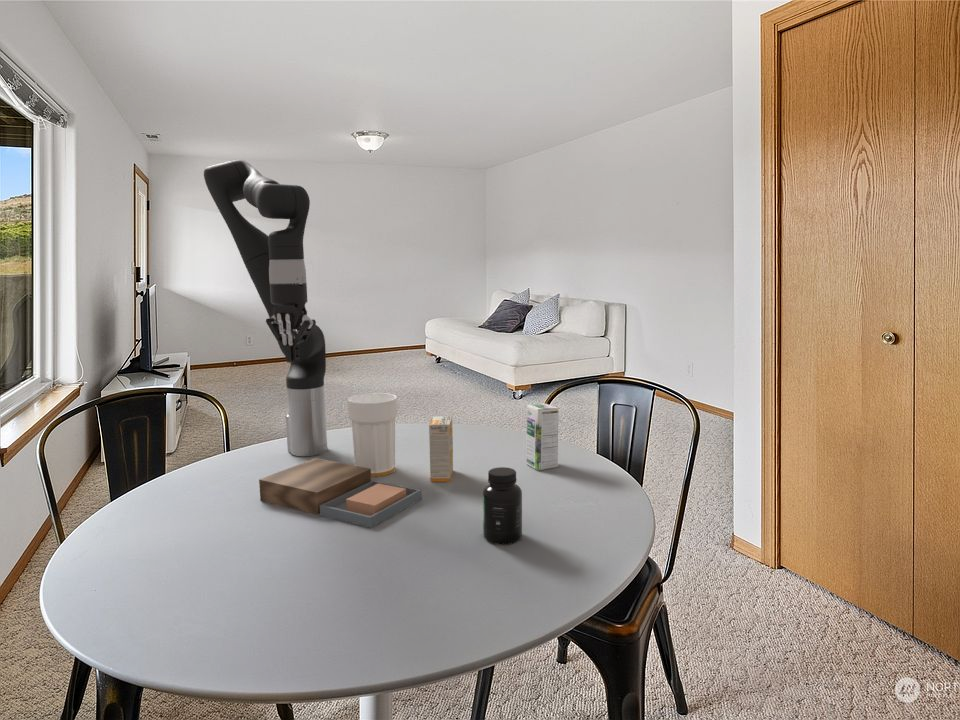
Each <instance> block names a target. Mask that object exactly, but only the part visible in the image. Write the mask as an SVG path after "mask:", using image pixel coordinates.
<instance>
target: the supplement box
mask: <svg viewBox="0 0 960 720" xmlns="http://www.w3.org/2000/svg"><path fill="white" fill-rule="evenodd" d="M428 434H429V467H430V468H429V469H430V470H429V471H430V472H429V473H430V475H429V476H430V482H431V483H433V482H434V483H439V482H440V483H447V482H448V483H449V482H451V481H452V476H453V475H452V474H453V471H454V450H453V449H454V440H453V439H454V436H453V416H450V415H449V416H447V415H443V416H442V415H441V416H440V415H439V416H438V415H437V416H432V418H431V420H430V422H429V424H428Z"/></svg>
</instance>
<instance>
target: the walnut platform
mask: <svg viewBox="0 0 960 720" xmlns="http://www.w3.org/2000/svg"><path fill="white" fill-rule="evenodd" d="M370 481H372V477H371V469H370V468H364V467H359V466H355V464H354V465H353V464H348V463H342V462H338V461H331V460H327V459H321V458H318V457H315V458H312V459H309V460H307V461H304V462H302V463H301V462H300V464H296V465H294V466H291V467H288V468H285V469H283V470H280V471H278V472H275V473H273V474H270V475H267V476H264V477H262V478H259V479H258V484H259V494H260V495H259V496H260V497H259V498H260V499H259V500H260V502H265V503H269V504H273V505H277V506H280V507H281V506H282V507H286V508H289V509H294V510H297V511H300V512H301V511H302V512H307V513H309V514H313V515H317V516H319V515H320V505H322V504H324V503H326V502H328V501H330V500H332V499H334V498H337V497H339V496H341V495H343V494H345V493H347V492H349V491H351V490H354V489H356V488H358V487H360V486H362V485H364V484H366V483H368V482H370Z"/></svg>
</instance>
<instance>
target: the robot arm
mask: <svg viewBox="0 0 960 720" xmlns="http://www.w3.org/2000/svg"><path fill="white" fill-rule="evenodd" d="M203 178H204V182H205V184H206V188H207V189H208V193H209V194H210V196H211V198H212V200H213V202H214V203H215V205H216V207H217V209H218V211H219V212H220V215H221V217H222V218H223V220H224V223H225V224H226V226H227V228H228V230H229V232H230V234H231V237H232V238H233V241H234V243H235V245H236V247H237V249H238V252H239V255H240V257H241V259H242V261H243V264H244V266H245V268H246V271H247V273H248V275H249V277H250V279H251V281H252V283H253V285H254V287H255V289H256V291H257V294H258V296H259V298H260V300H261V302H262V305H263V306H264V309H265V310H266V312H267V315H268V318H266V320H265V323H266V325H267V326H268V328H269V329H270V331H271V333H272V334H273V336H274V338H275V340H276V341H277V344H278V346H279V349H280V351H281V352H282V354H283V355H284V356H285V361H286V363H288V364H289V365H290V366H289V370H288V373H287V375H286V378H285V383H286V384H285V385H286V395H287V397H286V399H287V415H286V416H285V429H286V445H287V452H288V453H290V454H291V455H293V456H297V457H310V456H318V455H321V454H324V453H325V452H327V451H328V433H327V417H326V416H327V415H326V395H325V374H326V369H327V368H326V367H327V365H326V364H327V362H326V360H327V357H326V352H327V351H326V340H325V334H324V333H323V330H322V329H321V327H319V325H317V324H316V323H317V322H316V319H313V318H312V319H311V318H310V317H309V316H308V310H307V309H306V304H307V303H308V286H307V270H306V263H305V255H304V236H305V229H306V224H307V220H308V216H309V212H310V204H311V203H310V202H311V201H310V196H309V194H308V192H307V190H306V189H305V188H304V187H302V186H301V185H297V184H282V183H281V184H280V183H279V182H278V181H276V180H274V179H272V178H269V177H266V176H263V174H261V173H260V171H258V170H257V169H256V168H255V167H254V166H253V165H251V164H250V163H249V162H247V161H245V160H243V159H232V160H229V161H225V162H221V163H217V164H213V165H209V166H207V167H205V168H204V170H203ZM241 200H246V202H247V203H249V204H250V206H252V207H254V208H255V209H257V211H258V213H259V214H260V216H261V217H263V218H267V219H272V220H273V219H275V220H276V219H277V220H289V222H288V224H287V227H286V228H284V229H280V230H275V231H271V232H270V233H269V234H267V233H265V232H264V231H263V230H261V229H259V228H258V227H256V225H254V224H252V223H251V222H249V221H248V219H246V218H245V217H244V216H243V215H242V213H240V211H239V210H238V209H237V207H236V205H235V204H234V202H238V201H241Z"/></svg>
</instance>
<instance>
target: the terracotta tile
mask: <svg viewBox="0 0 960 720" xmlns="http://www.w3.org/2000/svg"><path fill="white" fill-rule="evenodd" d="M404 497H406V489H405V488H400V487H395V486H389V485H384V484H379V483H378V484H376V485H374V486H372V487H370V488H368V489H366V490H364V491H362V492H360V493H358V494H356V495H354V496H352V497H350V498H348V499H346V510H347V511H351V512H355V513H359V514H363V515H368V516H371V515H373V514H375V513H377V512H379V511H381V510H382V509H384V508H386V507H388V506H390V505H392V504H393V503H395V502H397V501H399V500H401V499H403V498H404Z"/></svg>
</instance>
